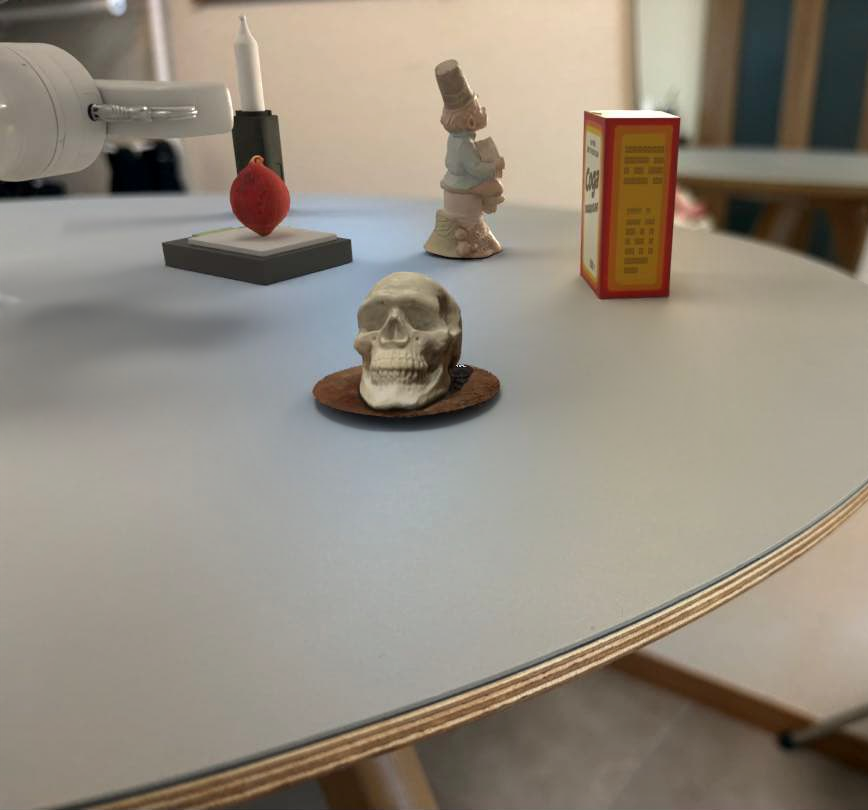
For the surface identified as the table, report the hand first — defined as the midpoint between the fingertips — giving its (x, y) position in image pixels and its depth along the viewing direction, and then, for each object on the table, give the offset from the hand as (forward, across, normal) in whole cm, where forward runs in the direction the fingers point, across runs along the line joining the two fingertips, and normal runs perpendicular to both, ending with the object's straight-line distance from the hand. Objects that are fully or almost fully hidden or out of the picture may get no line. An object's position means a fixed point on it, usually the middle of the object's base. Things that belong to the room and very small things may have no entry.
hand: (165, 101), depth 72 cm
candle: (+39, +17, +17) cm, 46 cm away
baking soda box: (+14, -38, +17) cm, 43 cm away
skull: (-18, -29, +17) cm, 38 cm away
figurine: (+23, -18, +17) cm, 34 cm away
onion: (+12, 0, +14) cm, 18 cm away
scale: (+12, 0, +17) cm, 21 cm away
